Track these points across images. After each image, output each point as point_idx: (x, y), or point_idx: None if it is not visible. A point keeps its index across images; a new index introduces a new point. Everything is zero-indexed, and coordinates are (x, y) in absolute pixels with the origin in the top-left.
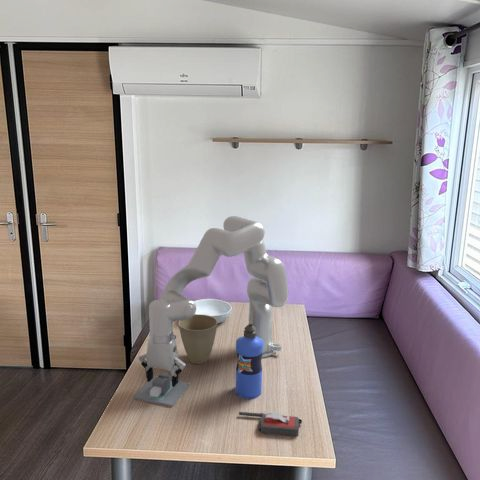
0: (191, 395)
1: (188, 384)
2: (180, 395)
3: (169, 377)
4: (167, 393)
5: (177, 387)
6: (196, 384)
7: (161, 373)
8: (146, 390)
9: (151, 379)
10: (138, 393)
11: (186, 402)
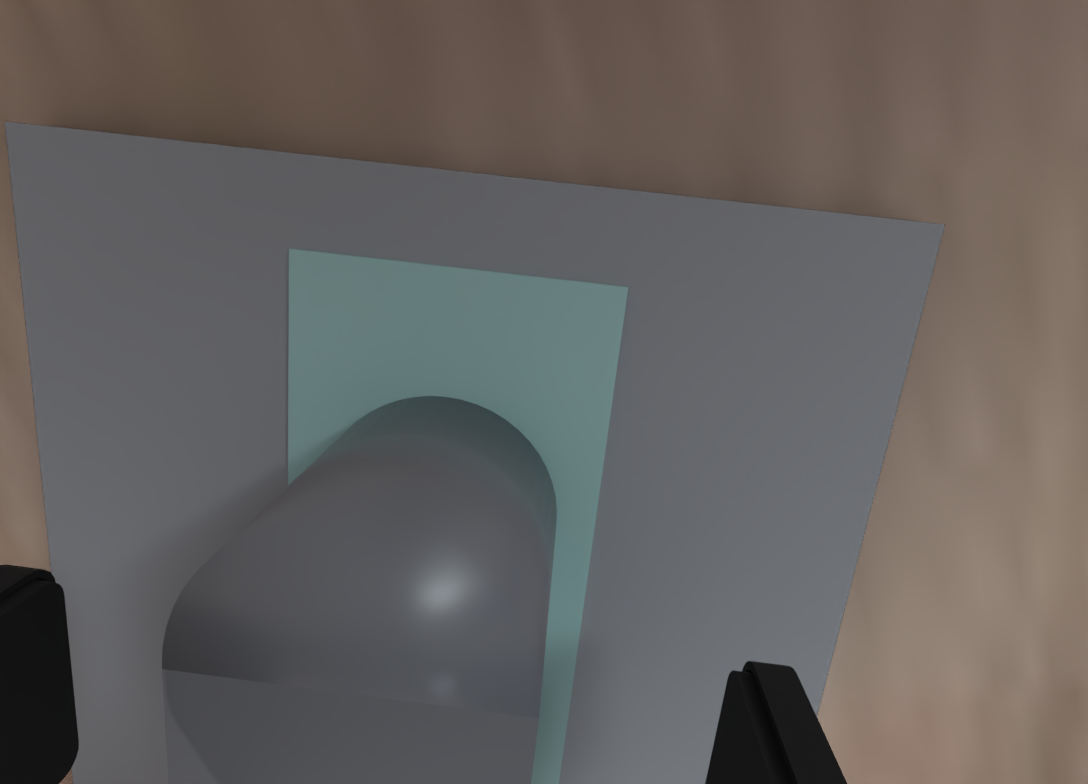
0: (1017, 572)
1: (925, 280)
2: (822, 660)
3: (539, 705)
4: (572, 686)
5: (705, 458)
6: (1085, 162)
7: (195, 581)
8: (161, 658)
9: (69, 655)
10: (83, 752)
11: (953, 767)
